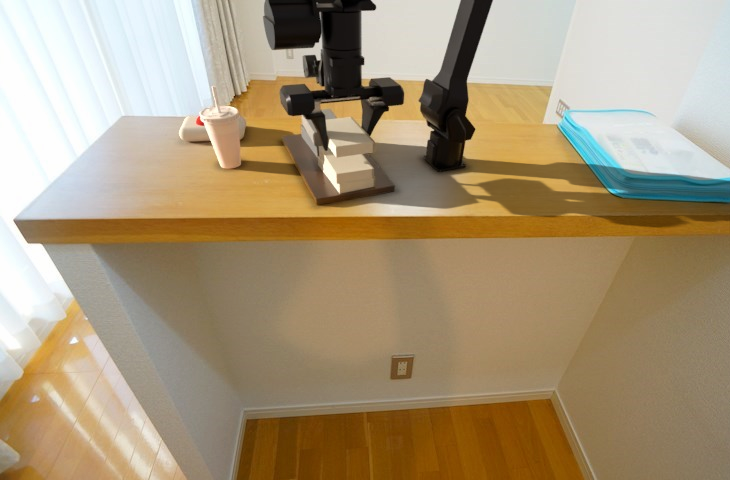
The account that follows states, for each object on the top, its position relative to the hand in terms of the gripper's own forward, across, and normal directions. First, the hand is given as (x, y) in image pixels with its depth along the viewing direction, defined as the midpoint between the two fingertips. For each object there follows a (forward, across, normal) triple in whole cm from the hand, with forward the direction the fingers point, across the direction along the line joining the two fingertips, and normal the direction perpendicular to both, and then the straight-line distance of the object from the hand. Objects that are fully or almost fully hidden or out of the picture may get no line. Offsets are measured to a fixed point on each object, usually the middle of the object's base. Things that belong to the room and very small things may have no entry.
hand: (345, 147), depth 70 cm
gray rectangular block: (+5, 0, -13) cm, 14 cm away
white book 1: (-1, 0, 0) cm, 1 cm away
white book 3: (+5, 0, 0) cm, 5 cm away
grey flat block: (+3, 0, -13) cm, 13 cm away
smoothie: (+7, +18, -13) cm, 23 cm away
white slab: (+7, +19, -28) cm, 35 cm away
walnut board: (+6, 0, -7) cm, 10 cm away
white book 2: (+4, 0, 0) cm, 4 cm away
